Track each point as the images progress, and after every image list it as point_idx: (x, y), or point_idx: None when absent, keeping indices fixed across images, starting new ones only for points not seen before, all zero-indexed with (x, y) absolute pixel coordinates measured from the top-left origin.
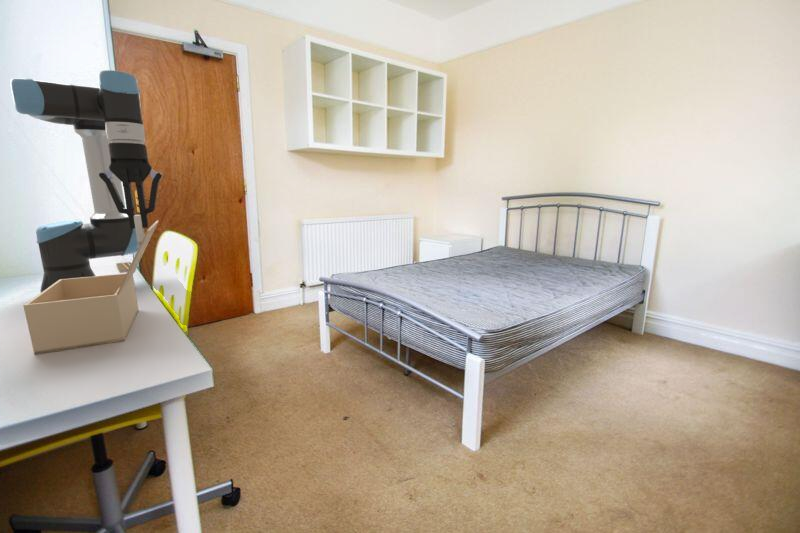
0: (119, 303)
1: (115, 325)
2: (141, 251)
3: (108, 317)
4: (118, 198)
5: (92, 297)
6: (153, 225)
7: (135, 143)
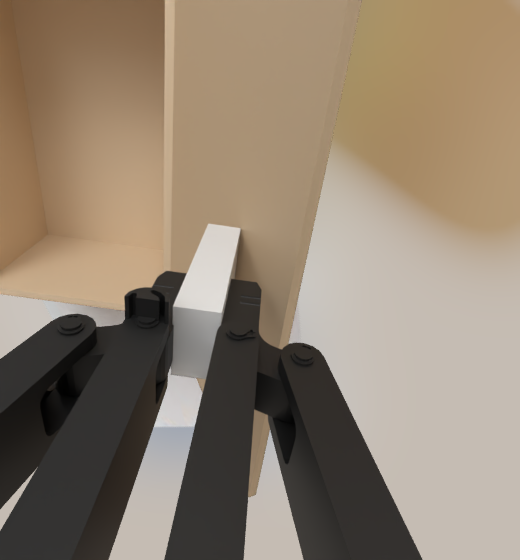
0: None
1: None
2: None
3: None
4: (17, 486)
5: (116, 306)
6: (287, 334)
7: None
